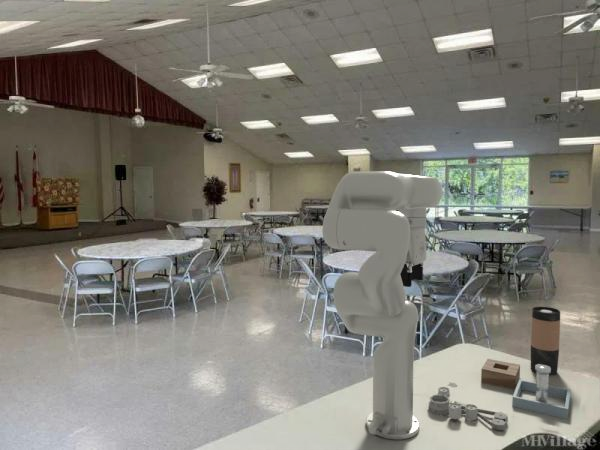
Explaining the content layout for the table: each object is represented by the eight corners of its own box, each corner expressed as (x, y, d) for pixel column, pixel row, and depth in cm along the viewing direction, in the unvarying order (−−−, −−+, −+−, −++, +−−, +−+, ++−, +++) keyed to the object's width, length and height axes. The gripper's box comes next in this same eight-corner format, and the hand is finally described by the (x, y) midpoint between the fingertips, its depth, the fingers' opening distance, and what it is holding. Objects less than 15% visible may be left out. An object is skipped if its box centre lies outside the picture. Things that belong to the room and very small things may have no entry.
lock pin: (548, 408, 119) (550, 370, 118) (533, 404, 121) (534, 367, 120) (549, 402, 122) (551, 366, 121) (534, 399, 124) (536, 363, 123)
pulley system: (465, 444, 106) (518, 429, 110) (464, 424, 105) (517, 410, 110) (403, 396, 132) (448, 385, 136) (402, 380, 131) (447, 370, 136)
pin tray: (567, 422, 113) (567, 409, 112) (512, 409, 119) (512, 396, 119) (569, 402, 123) (570, 389, 123) (518, 391, 130) (519, 379, 130)
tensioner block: (514, 392, 129) (515, 375, 128) (481, 385, 134) (481, 368, 133) (519, 381, 136) (520, 364, 136) (487, 374, 141) (487, 358, 141)
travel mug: (563, 375, 140) (566, 311, 138) (546, 380, 136) (549, 314, 134) (540, 366, 146) (543, 305, 145) (524, 371, 143) (526, 308, 141)
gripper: (415, 226, 121) (414, 290, 122) (434, 221, 135) (433, 278, 137) (388, 225, 125) (387, 287, 126) (409, 220, 139) (409, 276, 141)
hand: (411, 282), depth 131 cm, fingers open, 9 cm apart
